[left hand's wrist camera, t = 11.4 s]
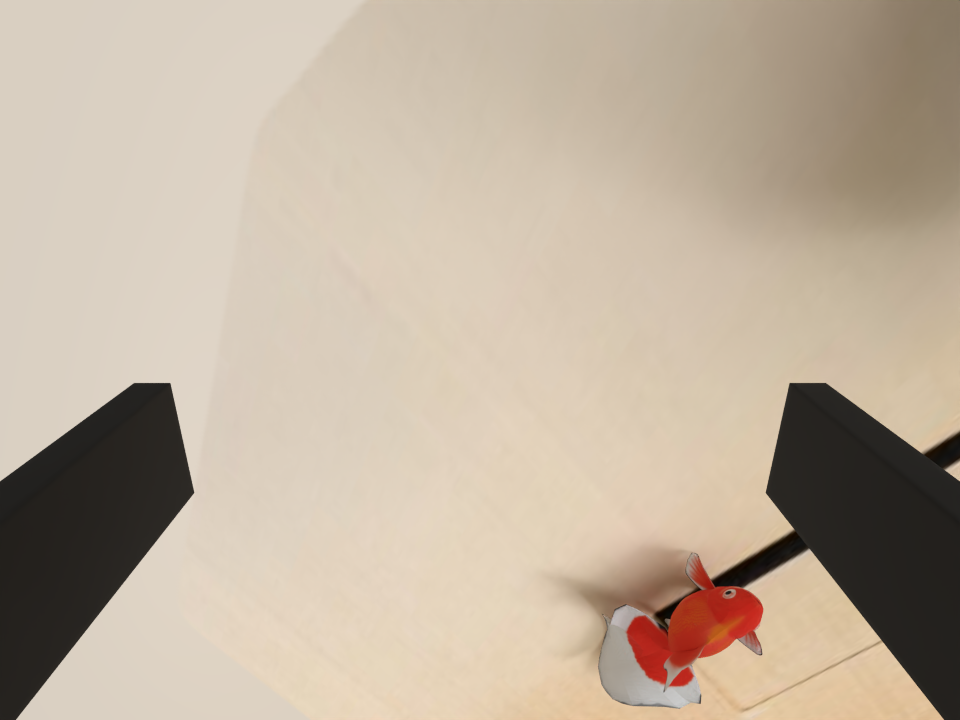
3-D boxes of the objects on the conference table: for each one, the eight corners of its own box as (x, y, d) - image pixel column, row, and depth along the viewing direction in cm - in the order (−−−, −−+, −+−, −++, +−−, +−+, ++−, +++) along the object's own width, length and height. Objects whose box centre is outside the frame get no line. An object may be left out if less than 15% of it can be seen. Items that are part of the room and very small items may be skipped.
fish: (814, 659, 45) (804, 766, 37) (635, 664, 54) (596, 751, 46) (755, 535, 45) (732, 616, 37) (586, 562, 54) (538, 631, 46)
